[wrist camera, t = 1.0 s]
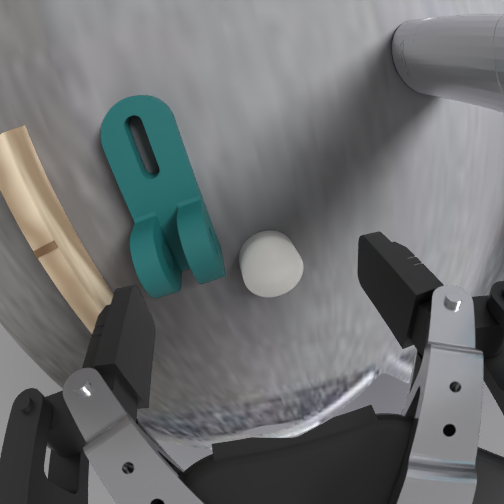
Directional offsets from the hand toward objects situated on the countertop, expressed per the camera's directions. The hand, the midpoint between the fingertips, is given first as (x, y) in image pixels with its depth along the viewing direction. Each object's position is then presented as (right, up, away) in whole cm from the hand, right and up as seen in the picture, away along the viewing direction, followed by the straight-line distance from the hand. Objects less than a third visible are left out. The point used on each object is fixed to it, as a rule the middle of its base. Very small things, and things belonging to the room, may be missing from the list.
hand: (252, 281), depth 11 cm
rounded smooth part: (+2, +1, +24) cm, 24 cm away
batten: (-21, +3, +18) cm, 28 cm away
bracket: (-9, +8, +18) cm, 22 cm away
